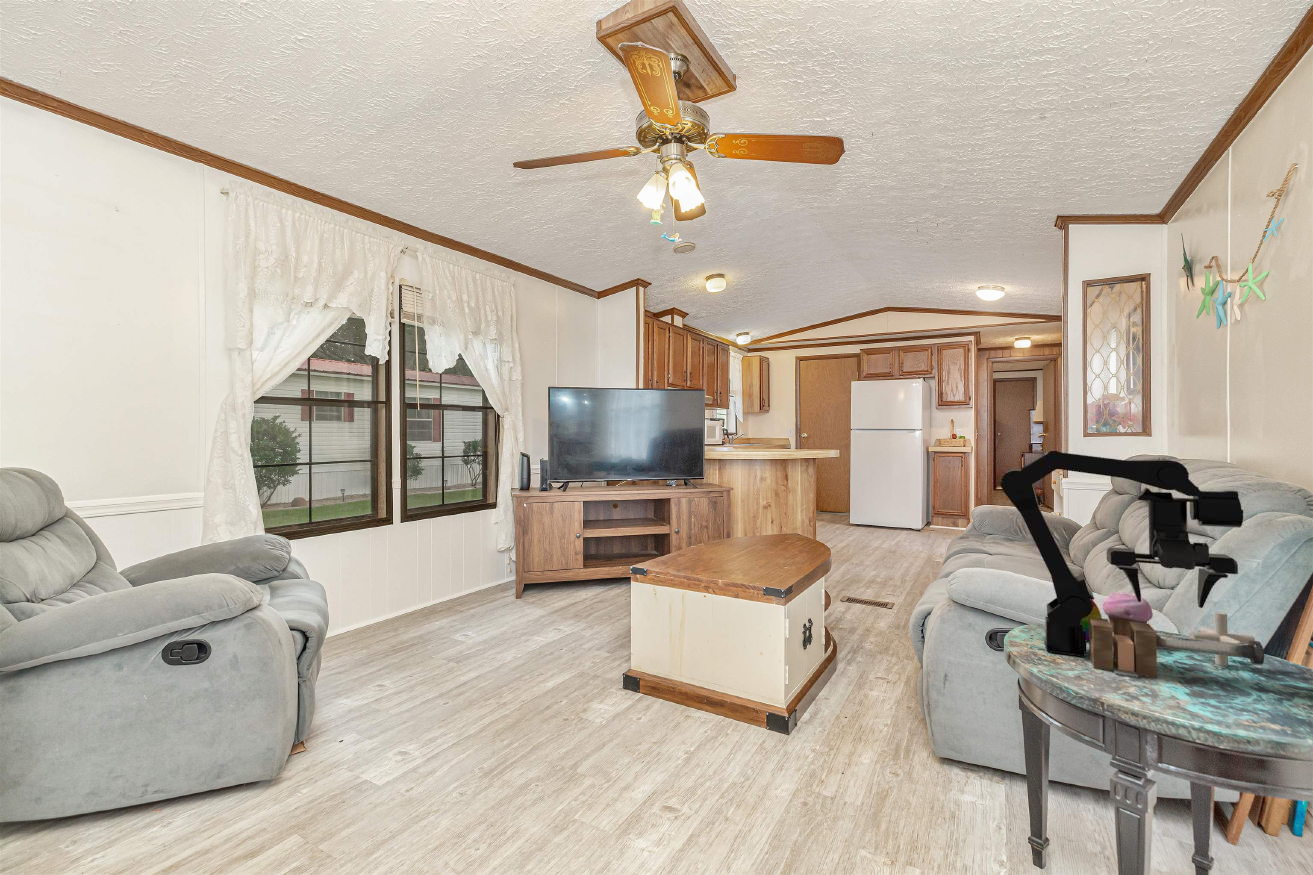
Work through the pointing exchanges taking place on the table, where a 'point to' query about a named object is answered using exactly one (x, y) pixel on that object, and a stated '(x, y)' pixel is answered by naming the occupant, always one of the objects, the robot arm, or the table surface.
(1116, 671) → the mat
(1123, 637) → the spacer
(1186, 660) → the table surface
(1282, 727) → the table surface
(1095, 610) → the decorative egg
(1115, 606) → the cupcake
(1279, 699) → the table surface
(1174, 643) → the shaft
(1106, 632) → the pillow blocks
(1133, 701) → the table surface
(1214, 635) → the pipe connector
